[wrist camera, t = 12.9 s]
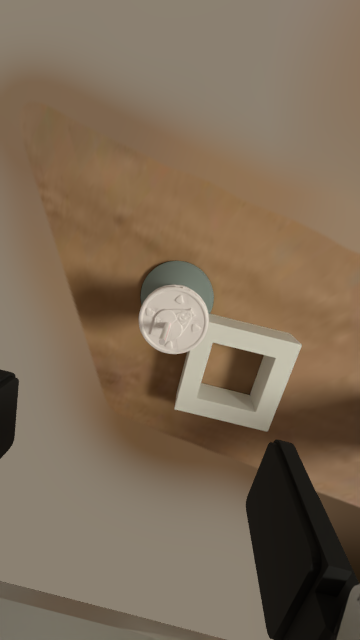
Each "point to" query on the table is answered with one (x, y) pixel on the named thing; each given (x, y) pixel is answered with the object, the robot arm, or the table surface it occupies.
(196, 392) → the holder
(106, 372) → the table surface
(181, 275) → the coaster
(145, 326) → the lidded cup with straw
